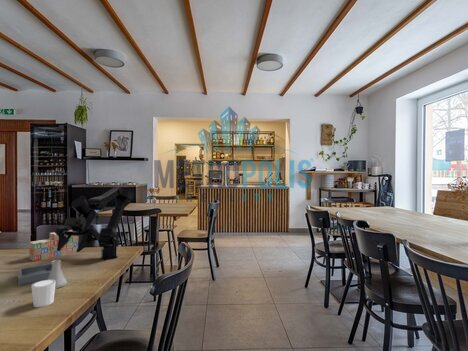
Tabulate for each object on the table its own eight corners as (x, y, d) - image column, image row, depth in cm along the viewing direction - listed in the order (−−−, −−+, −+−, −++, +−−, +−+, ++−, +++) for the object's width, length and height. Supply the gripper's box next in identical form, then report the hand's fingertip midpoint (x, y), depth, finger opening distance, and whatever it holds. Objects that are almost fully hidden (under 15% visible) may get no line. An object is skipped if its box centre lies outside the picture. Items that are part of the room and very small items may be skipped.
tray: (54, 268, 122) (54, 262, 122) (57, 277, 112) (57, 270, 112) (17, 275, 113) (17, 269, 113) (18, 285, 103) (18, 278, 103)
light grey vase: (55, 290, 99) (55, 264, 99) (40, 288, 101) (40, 263, 101) (71, 282, 106) (71, 258, 106) (56, 281, 108) (56, 257, 108)
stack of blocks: (33, 262, 131) (33, 237, 131) (29, 259, 135) (29, 236, 135) (78, 251, 149) (78, 230, 148) (73, 249, 152) (73, 228, 152)
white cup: (39, 298, 93) (39, 279, 93) (60, 297, 93) (59, 278, 93) (26, 308, 86) (26, 287, 86) (47, 307, 86) (47, 287, 86)
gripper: (58, 209, 116) (35, 240, 105) (96, 210, 113) (77, 242, 102) (71, 223, 123) (52, 253, 113) (107, 225, 121) (91, 255, 110)
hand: (67, 251), depth 109 cm, fingers open, 9 cm apart
